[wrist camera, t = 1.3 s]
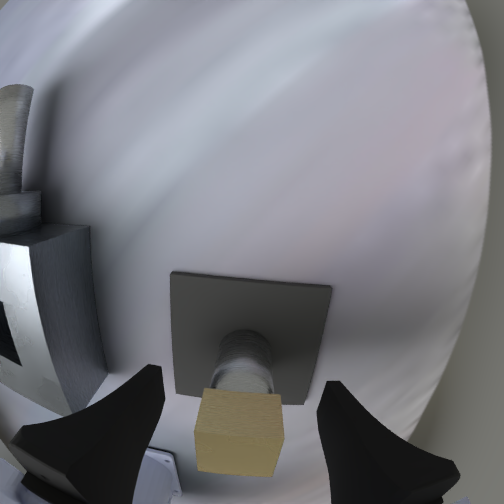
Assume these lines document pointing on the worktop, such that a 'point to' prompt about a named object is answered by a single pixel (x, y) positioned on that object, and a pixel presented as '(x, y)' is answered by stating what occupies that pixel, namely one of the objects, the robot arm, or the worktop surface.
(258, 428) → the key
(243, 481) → the worktop surface
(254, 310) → the mat
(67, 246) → the chuck
